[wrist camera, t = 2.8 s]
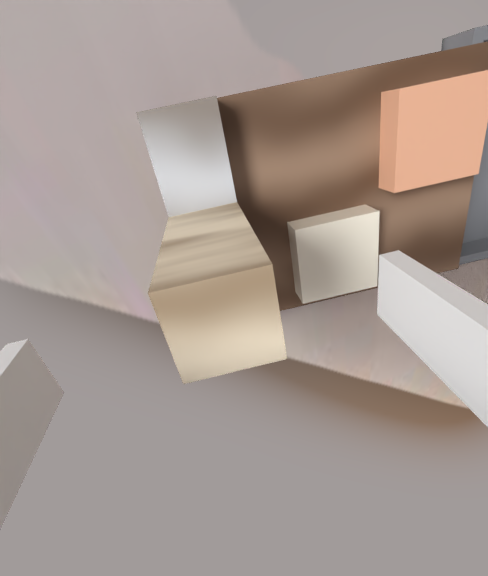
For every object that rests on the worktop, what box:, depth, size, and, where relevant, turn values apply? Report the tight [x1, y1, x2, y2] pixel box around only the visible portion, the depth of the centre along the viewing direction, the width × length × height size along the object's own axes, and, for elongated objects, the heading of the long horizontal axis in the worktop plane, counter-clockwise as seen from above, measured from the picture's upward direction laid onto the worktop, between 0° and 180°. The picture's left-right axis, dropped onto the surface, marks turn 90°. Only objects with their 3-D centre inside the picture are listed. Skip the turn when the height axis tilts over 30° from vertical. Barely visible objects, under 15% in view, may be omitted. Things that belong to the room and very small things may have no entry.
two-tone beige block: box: [136, 96, 287, 384], centre depth 17 cm, size 16×4×12 cm, turn 11°
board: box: [217, 41, 488, 311], centre depth 25 cm, size 16×22×5 cm
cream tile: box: [287, 204, 380, 304], centre depth 23 cm, size 6×6×2 cm
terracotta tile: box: [379, 70, 488, 193], centre depth 20 cm, size 6×6×2 cm
